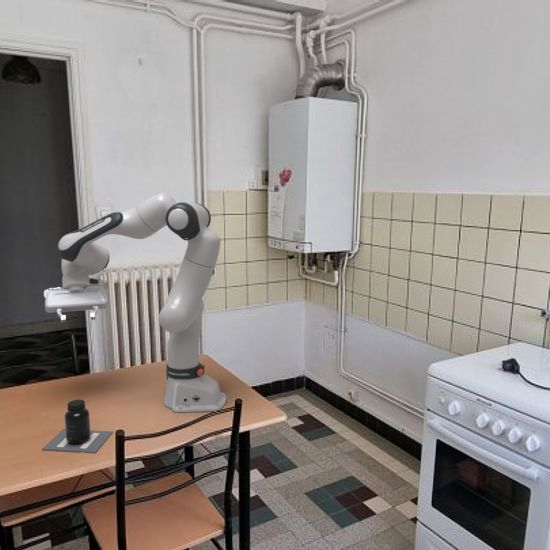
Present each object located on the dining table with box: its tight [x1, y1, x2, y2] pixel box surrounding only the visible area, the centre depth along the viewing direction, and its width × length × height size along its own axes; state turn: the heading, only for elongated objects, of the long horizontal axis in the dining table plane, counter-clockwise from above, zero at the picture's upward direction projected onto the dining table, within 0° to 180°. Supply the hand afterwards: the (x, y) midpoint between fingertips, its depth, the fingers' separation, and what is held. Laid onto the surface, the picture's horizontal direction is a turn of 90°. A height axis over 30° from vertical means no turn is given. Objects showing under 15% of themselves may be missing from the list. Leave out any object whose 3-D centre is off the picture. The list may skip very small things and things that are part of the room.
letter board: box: [41, 428, 114, 454], centre depth 142 cm, size 16×12×1 cm
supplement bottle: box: [64, 399, 91, 445], centre depth 141 cm, size 7×7×12 cm
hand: (78, 320), depth 160 cm, fingers open, 8 cm apart
